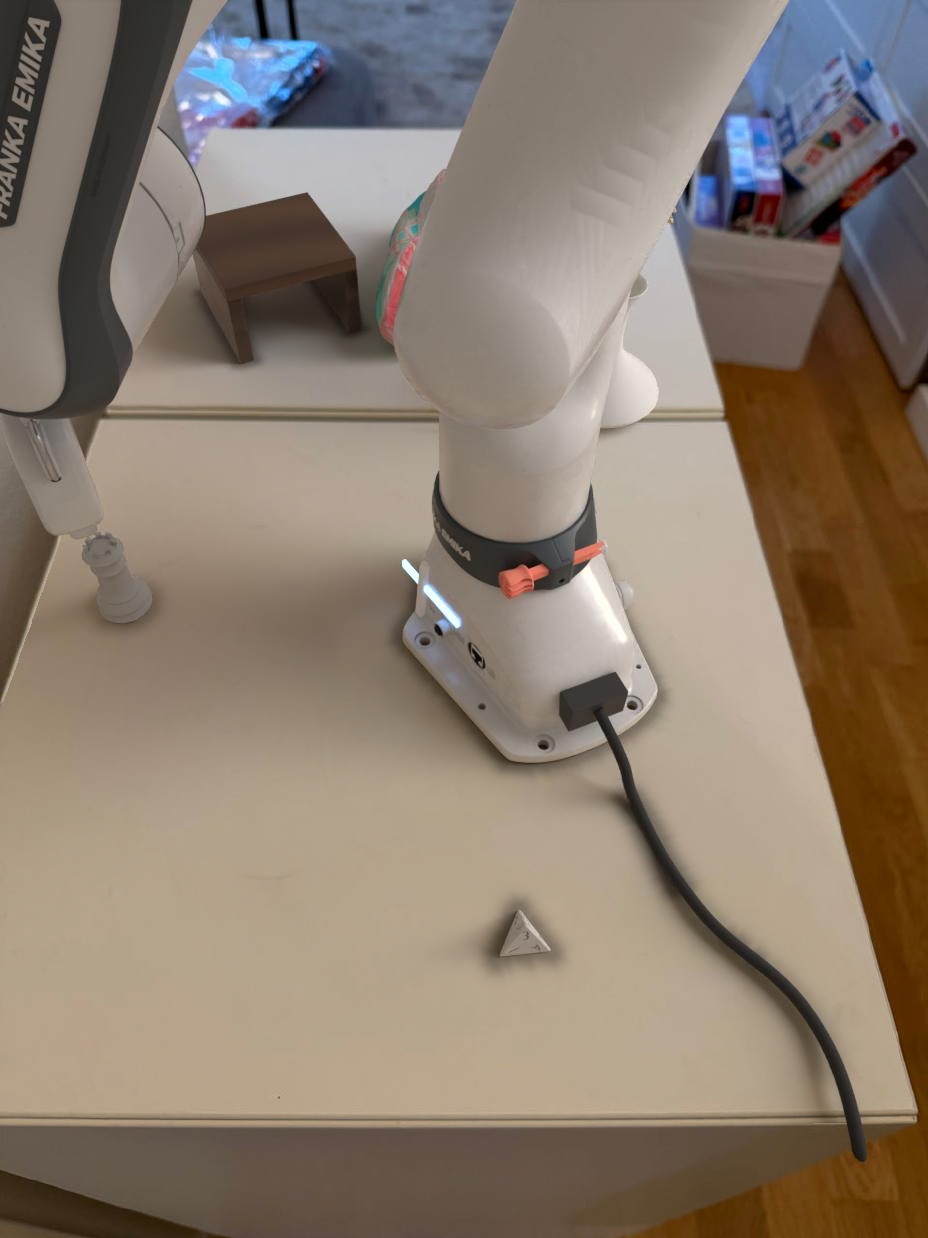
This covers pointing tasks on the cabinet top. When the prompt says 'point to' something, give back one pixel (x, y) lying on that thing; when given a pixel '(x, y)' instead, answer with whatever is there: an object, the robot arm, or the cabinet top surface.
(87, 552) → the rook chess piece
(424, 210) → the athletic shoe
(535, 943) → the tetrahedral die
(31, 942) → the cabinet top surface
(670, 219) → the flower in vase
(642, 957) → the cabinet top surface
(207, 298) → the shelf
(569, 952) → the cabinet top surface
